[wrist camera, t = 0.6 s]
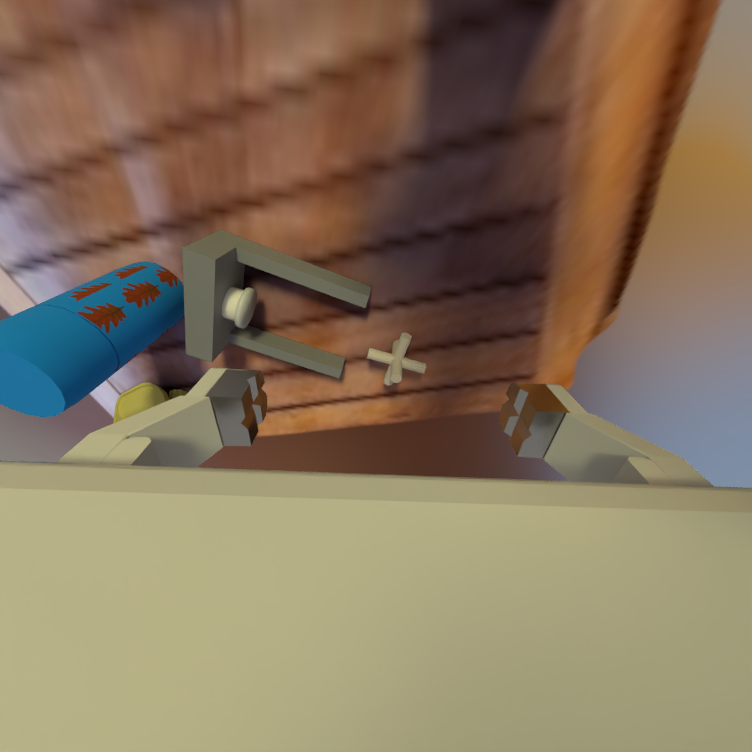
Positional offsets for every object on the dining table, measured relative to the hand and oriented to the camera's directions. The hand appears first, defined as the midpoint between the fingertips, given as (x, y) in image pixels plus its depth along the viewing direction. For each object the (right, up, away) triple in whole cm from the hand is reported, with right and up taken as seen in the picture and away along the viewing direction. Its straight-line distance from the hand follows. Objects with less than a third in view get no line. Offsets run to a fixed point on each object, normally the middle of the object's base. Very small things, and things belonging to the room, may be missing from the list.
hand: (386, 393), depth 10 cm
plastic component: (-48, -5, +59) cm, 76 cm away
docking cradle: (-15, +12, +42) cm, 47 cm away
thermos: (-38, +15, +43) cm, 59 cm away
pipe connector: (+4, +6, +46) cm, 46 cm away
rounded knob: (-23, +14, +40) cm, 48 cm away
